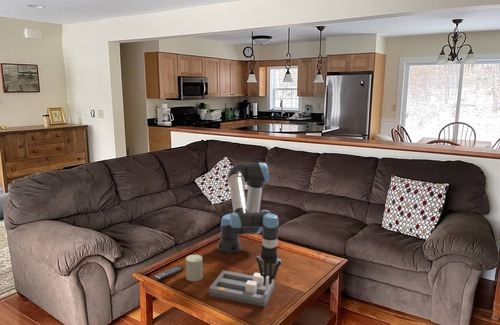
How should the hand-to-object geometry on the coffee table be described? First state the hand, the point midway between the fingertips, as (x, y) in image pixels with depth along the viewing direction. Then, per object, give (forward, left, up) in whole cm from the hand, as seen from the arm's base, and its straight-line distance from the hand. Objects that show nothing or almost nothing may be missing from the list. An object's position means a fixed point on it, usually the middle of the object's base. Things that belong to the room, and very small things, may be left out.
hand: (267, 289), depth 188 cm
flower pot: (-26, -5, -7) cm, 27 cm away
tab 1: (0, -9, -4) cm, 10 cm away
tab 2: (-9, -7, -4) cm, 12 cm away
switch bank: (-5, -15, -6) cm, 17 cm away
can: (-9, -45, -7) cm, 46 cm away
